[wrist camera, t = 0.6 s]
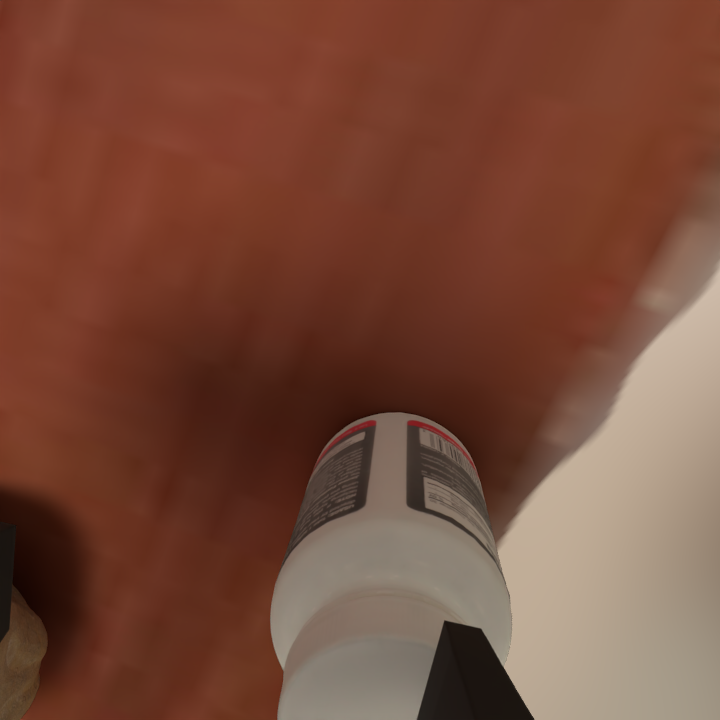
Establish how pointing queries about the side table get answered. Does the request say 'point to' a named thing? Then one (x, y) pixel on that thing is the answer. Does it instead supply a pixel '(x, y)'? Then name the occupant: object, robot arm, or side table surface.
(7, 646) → the fossil
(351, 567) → the pill bottle
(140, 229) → the side table surface
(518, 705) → the robot arm
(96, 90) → the side table surface
